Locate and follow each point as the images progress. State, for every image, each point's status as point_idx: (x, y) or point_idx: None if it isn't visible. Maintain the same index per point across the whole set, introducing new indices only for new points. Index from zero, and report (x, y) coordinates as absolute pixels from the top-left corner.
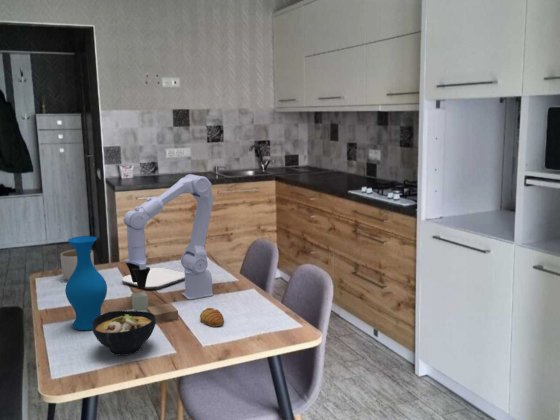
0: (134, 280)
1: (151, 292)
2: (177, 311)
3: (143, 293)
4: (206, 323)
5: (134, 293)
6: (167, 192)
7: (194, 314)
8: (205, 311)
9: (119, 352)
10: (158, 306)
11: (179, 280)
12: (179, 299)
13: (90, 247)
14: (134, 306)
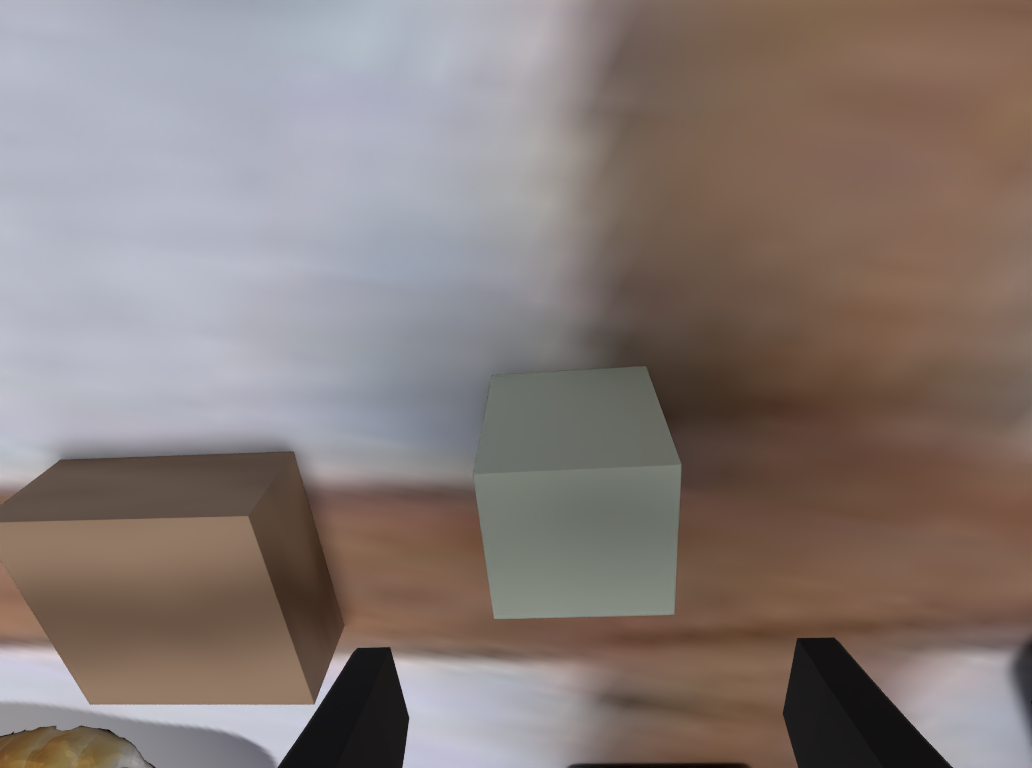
0: (810, 692)
1: (999, 606)
2: (93, 694)
3: (594, 593)
4: (3, 743)
5: (662, 503)
6: None
7: (242, 726)
8: None
9: None
10: (245, 609)
11: None
12: (629, 727)
13: None
14: (517, 397)
